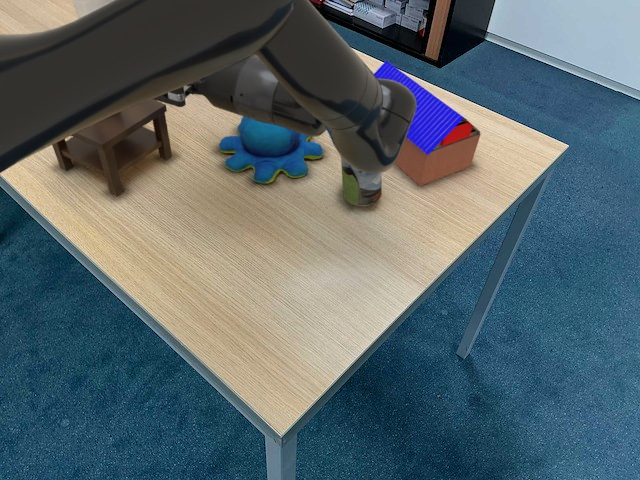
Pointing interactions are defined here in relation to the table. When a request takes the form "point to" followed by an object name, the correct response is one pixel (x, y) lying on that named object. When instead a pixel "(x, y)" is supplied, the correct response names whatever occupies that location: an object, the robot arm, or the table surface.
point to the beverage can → (360, 185)
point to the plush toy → (269, 150)
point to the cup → (88, 6)
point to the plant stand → (117, 143)
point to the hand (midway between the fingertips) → (146, 53)
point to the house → (432, 134)
